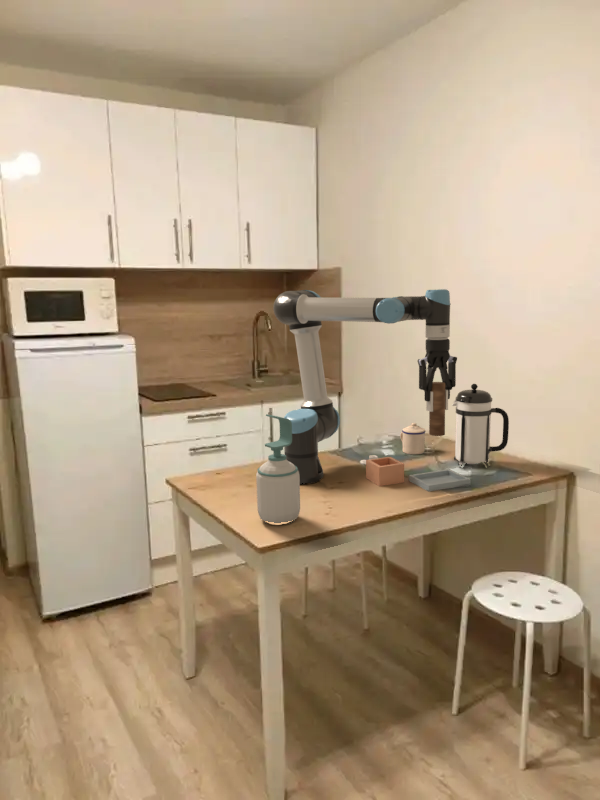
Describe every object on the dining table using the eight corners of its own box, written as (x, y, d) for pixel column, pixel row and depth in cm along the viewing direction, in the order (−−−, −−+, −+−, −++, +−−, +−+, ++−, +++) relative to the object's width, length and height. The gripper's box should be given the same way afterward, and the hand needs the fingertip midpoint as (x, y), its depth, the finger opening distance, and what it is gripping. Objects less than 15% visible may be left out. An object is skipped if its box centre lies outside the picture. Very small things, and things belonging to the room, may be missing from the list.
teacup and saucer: (356, 465, 228) (356, 454, 227) (374, 462, 231) (374, 451, 230) (370, 471, 220) (370, 460, 219) (388, 468, 224) (388, 457, 223)
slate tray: (428, 493, 195) (428, 485, 194) (408, 482, 206) (408, 475, 206) (470, 486, 201) (470, 479, 200) (448, 475, 212) (449, 469, 211)
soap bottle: (249, 519, 177) (245, 414, 171) (282, 508, 185) (279, 407, 179) (275, 532, 168) (271, 421, 162) (309, 520, 175) (307, 414, 169)
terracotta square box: (379, 487, 201) (379, 467, 200) (365, 479, 210) (365, 459, 208) (403, 483, 205) (404, 463, 203) (390, 475, 213) (390, 456, 212)
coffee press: (477, 473, 214) (480, 389, 208) (442, 463, 226) (444, 383, 221) (508, 464, 224) (511, 383, 218) (472, 454, 236) (475, 378, 231)
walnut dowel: (434, 436, 197) (435, 384, 194) (426, 433, 201) (426, 382, 198) (447, 434, 199) (448, 383, 195) (439, 431, 203) (439, 381, 200)
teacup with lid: (430, 452, 241) (430, 423, 239) (412, 456, 236) (413, 427, 234) (409, 445, 251) (409, 418, 249) (392, 449, 246) (392, 421, 244)
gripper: (419, 341, 188) (419, 415, 192) (468, 337, 194) (467, 409, 198) (406, 339, 195) (407, 410, 199) (454, 336, 201) (453, 405, 205)
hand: (437, 409), depth 199 cm, fingers closed on walnut dowel, 5 cm apart
